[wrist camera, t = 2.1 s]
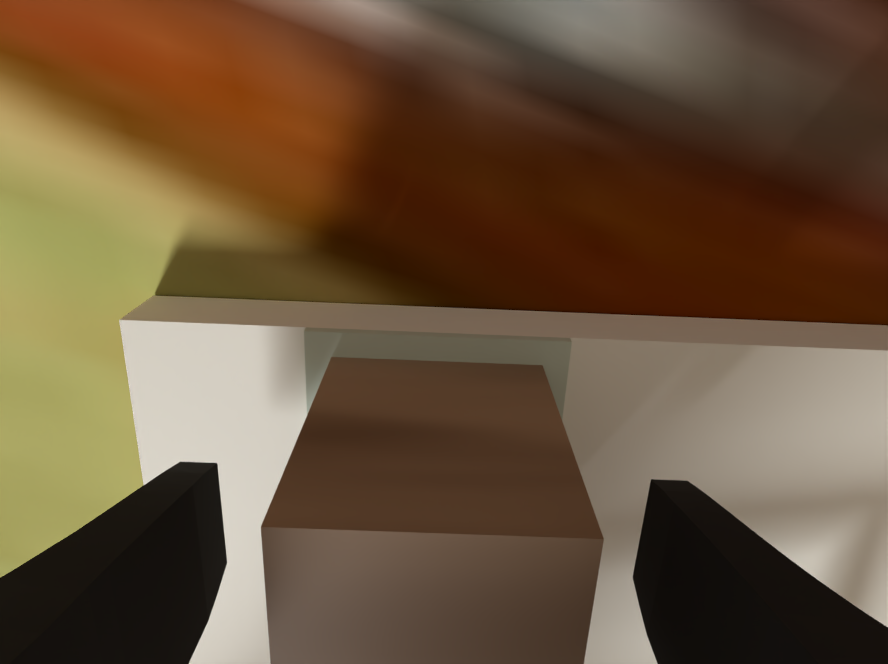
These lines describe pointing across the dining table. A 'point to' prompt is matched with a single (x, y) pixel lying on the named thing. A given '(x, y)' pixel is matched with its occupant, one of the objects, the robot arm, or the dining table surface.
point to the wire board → (583, 415)
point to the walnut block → (431, 521)
